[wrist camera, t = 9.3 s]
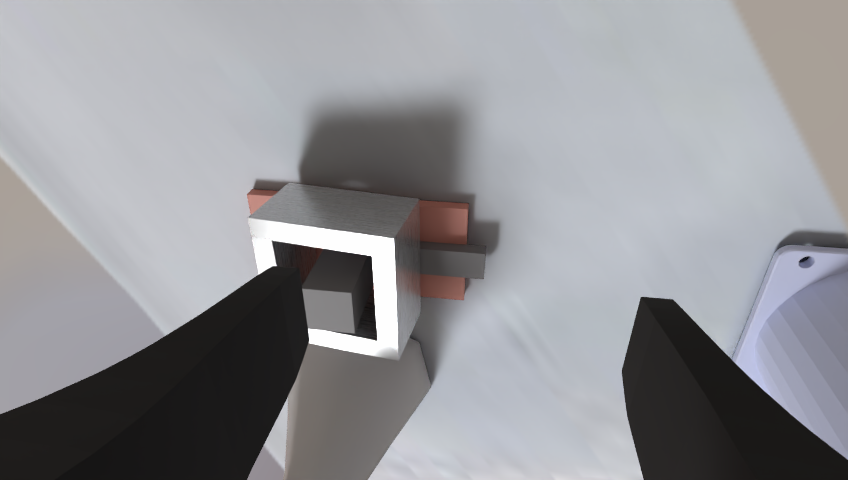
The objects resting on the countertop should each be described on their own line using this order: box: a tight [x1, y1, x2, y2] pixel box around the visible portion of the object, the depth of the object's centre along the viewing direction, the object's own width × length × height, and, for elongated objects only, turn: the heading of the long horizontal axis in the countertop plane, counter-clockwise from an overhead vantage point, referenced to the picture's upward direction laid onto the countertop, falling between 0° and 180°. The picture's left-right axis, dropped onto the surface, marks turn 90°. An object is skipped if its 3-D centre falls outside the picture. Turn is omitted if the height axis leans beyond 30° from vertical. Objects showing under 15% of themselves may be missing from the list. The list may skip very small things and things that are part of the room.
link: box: [248, 183, 421, 361], centre depth 21 cm, size 5×5×3 cm
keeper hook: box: [247, 189, 486, 334], centre depth 21 cm, size 10×4×5 cm, turn 90°
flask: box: [283, 338, 431, 480], centre depth 23 cm, size 7×7×10 cm
